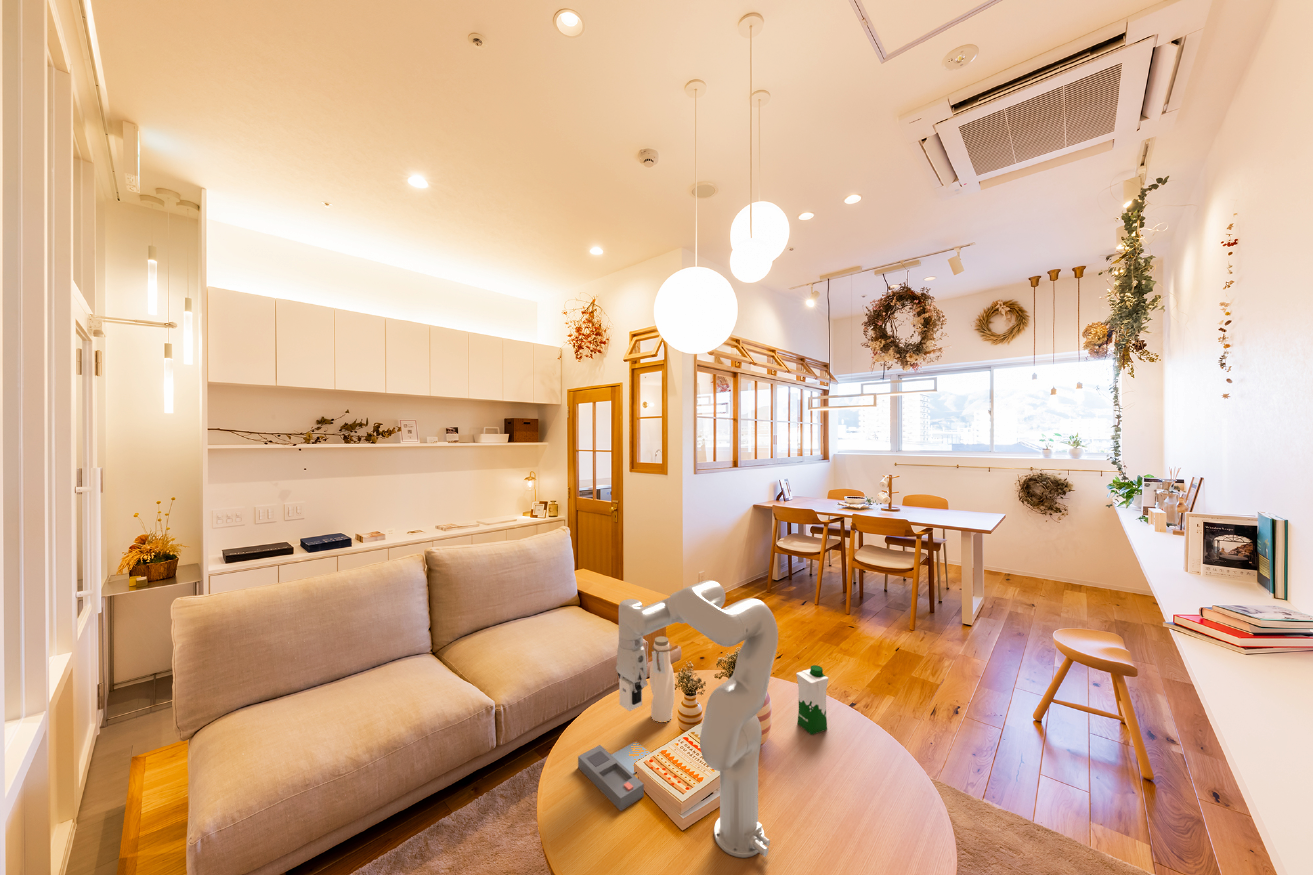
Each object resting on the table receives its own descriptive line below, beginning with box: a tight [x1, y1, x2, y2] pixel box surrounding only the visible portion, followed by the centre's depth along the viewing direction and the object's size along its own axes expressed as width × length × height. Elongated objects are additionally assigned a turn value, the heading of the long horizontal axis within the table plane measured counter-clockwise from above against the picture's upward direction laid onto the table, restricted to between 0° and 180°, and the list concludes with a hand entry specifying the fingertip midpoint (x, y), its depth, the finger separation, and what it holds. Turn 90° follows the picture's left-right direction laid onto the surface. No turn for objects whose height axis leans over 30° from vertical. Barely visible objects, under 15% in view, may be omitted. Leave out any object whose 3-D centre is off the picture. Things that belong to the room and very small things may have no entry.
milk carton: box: [795, 664, 829, 736], centre depth 163 cm, size 9×9×20 cm
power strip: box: [577, 744, 645, 812], centre depth 138 cm, size 22×8×4 cm, turn 41°
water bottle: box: [649, 635, 676, 722], centre depth 168 cm, size 10×9×28 cm
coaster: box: [611, 741, 651, 776], centre depth 147 cm, size 11×11×1 cm
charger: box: [618, 677, 643, 712], centre depth 146 cm, size 5×5×8 cm
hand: (630, 698), depth 146 cm, fingers closed on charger, 5 cm apart
